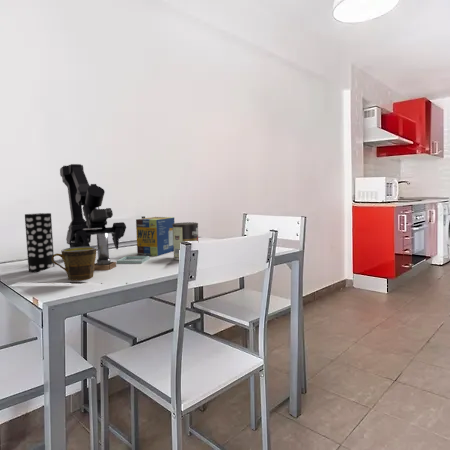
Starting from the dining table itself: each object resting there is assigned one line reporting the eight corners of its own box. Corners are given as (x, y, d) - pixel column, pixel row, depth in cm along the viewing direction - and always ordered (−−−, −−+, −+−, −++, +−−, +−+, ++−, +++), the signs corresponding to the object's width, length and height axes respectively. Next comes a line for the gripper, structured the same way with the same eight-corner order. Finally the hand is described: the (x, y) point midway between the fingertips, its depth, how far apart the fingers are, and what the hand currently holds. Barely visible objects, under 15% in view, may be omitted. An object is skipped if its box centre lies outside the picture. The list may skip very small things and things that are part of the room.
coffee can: (202, 256, 155) (201, 222, 154) (195, 260, 145) (194, 224, 143) (178, 255, 157) (177, 222, 156) (169, 260, 147) (168, 224, 146)
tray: (116, 266, 137) (116, 260, 137) (126, 261, 147) (125, 256, 147) (142, 265, 136) (141, 260, 136) (149, 261, 146) (149, 256, 146)
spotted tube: (28, 273, 128) (24, 215, 126) (28, 269, 135) (24, 214, 134) (55, 270, 132) (51, 213, 130) (53, 266, 139) (50, 212, 137)
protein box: (136, 255, 161) (135, 219, 160) (156, 249, 175) (155, 216, 174) (157, 256, 157) (156, 219, 156) (176, 250, 171) (174, 216, 170)
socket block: (90, 272, 126) (90, 265, 126) (99, 268, 133) (98, 261, 133) (109, 272, 126) (109, 265, 126) (117, 268, 132) (116, 261, 132)
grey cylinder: (95, 269, 127) (93, 234, 126) (100, 266, 132) (98, 232, 131) (107, 269, 127) (105, 234, 126) (112, 266, 131) (110, 232, 130)
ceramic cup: (90, 275, 122) (88, 245, 121) (103, 281, 114) (101, 248, 113) (48, 283, 113) (46, 250, 112) (59, 288, 106) (56, 253, 105)
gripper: (68, 201, 125) (78, 237, 117) (123, 200, 136) (135, 232, 128) (65, 224, 133) (74, 258, 124) (117, 220, 143) (128, 252, 135)
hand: (104, 250), depth 128 cm, fingers open, 9 cm apart
